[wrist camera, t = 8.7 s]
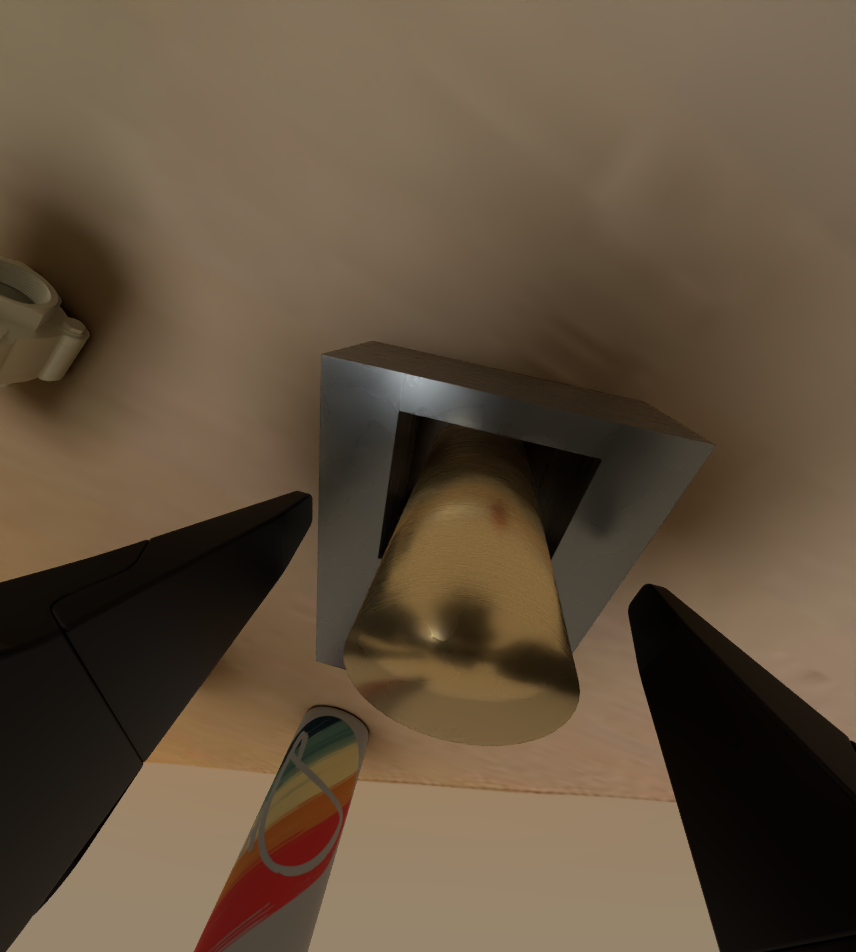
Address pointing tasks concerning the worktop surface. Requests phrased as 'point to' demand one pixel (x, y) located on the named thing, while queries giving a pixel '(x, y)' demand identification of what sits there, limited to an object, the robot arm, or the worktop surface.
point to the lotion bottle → (291, 842)
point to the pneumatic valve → (34, 327)
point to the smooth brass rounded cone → (467, 604)
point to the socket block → (504, 413)
